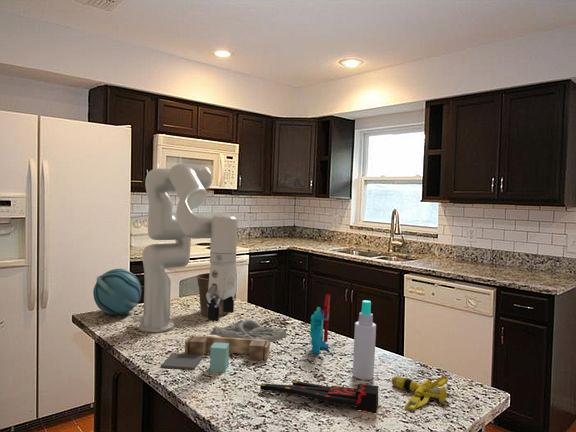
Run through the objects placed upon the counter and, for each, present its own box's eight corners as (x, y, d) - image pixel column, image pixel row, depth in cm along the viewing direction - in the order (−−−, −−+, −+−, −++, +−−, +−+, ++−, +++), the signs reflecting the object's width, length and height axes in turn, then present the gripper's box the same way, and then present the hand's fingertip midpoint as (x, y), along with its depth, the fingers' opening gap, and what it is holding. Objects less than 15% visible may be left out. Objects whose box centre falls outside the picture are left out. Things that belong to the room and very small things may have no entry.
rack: (184, 355, 140) (185, 341, 140) (190, 348, 146) (191, 335, 146) (266, 361, 138) (267, 347, 138) (269, 353, 144) (269, 340, 144)
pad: (160, 367, 130) (160, 365, 130) (172, 355, 140) (172, 353, 140) (194, 369, 129) (194, 367, 129) (203, 357, 139) (203, 355, 139)
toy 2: (324, 326, 136) (330, 289, 147) (305, 324, 137) (312, 288, 149) (326, 361, 148) (331, 324, 159) (309, 359, 149) (315, 322, 160)
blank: (209, 371, 129) (210, 347, 128) (213, 365, 133) (214, 342, 133) (225, 372, 128) (225, 348, 128) (228, 366, 133) (229, 343, 133)
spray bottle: (348, 373, 131) (352, 299, 130) (365, 370, 134) (369, 298, 133) (360, 381, 126) (363, 304, 125) (377, 378, 128) (381, 303, 127)
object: (188, 311, 191) (189, 274, 190) (219, 306, 202) (220, 271, 201) (208, 320, 179) (210, 280, 179) (241, 314, 190) (242, 276, 190)
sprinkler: (405, 361, 130) (457, 375, 121) (405, 374, 131) (457, 389, 121) (373, 391, 115) (430, 409, 106) (374, 406, 116) (430, 425, 107)
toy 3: (257, 402, 115) (376, 416, 106) (257, 383, 115) (375, 396, 106) (268, 388, 123) (379, 401, 114) (268, 371, 123) (378, 382, 114)
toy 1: (149, 282, 196) (111, 256, 189) (154, 292, 178) (113, 264, 171) (121, 317, 192) (82, 292, 186) (124, 330, 175) (81, 303, 168)
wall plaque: (289, 336, 164) (290, 326, 164) (254, 349, 150) (254, 338, 149) (244, 323, 179) (244, 313, 179) (207, 333, 164) (208, 323, 164)
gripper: (221, 263, 120) (219, 326, 121) (246, 255, 136) (244, 310, 137) (196, 260, 122) (194, 322, 123) (224, 253, 139) (222, 308, 139)
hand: (221, 316), depth 130 cm, fingers open, 9 cm apart
